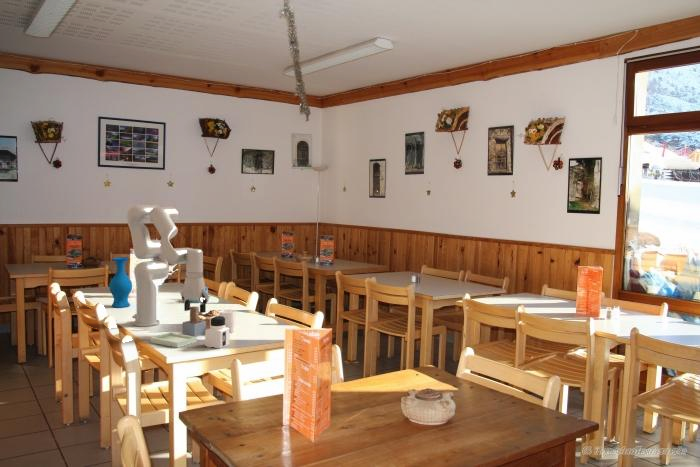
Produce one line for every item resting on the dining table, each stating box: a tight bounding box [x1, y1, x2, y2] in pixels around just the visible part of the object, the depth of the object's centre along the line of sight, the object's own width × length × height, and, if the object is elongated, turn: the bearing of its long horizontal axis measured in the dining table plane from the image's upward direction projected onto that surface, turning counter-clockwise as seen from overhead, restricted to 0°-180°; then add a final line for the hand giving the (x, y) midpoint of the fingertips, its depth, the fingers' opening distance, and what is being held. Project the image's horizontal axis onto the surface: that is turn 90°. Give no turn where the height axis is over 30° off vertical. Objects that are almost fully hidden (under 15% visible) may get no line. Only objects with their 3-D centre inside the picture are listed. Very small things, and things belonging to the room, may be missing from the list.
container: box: [204, 315, 230, 349], centre depth 266 cm, size 8×8×13 cm
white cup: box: [218, 309, 237, 334], centre depth 292 cm, size 8×8×10 cm
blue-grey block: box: [182, 319, 207, 338], centre depth 286 cm, size 8×8×6 cm
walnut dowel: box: [189, 305, 200, 324], centre depth 285 cm, size 4×4×13 cm
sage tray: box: [150, 332, 198, 348], centre depth 270 cm, size 16×12×2 cm
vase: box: [108, 256, 133, 308], centre depth 348 cm, size 12×13×28 cm
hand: (195, 311), depth 285 cm, fingers open, 9 cm apart
